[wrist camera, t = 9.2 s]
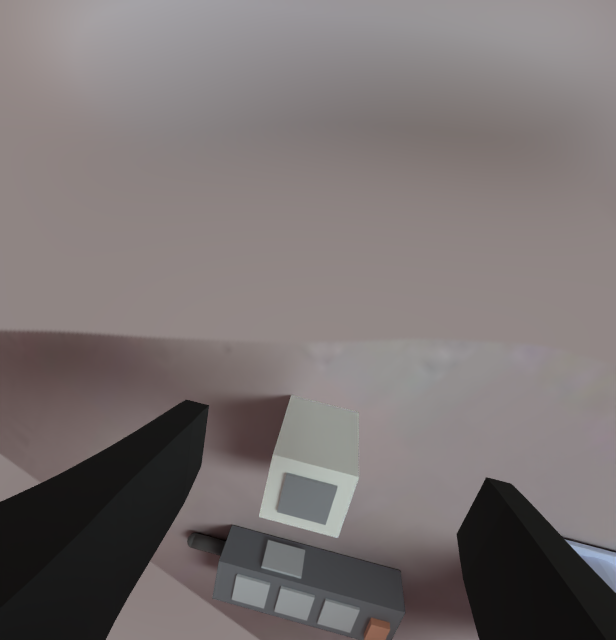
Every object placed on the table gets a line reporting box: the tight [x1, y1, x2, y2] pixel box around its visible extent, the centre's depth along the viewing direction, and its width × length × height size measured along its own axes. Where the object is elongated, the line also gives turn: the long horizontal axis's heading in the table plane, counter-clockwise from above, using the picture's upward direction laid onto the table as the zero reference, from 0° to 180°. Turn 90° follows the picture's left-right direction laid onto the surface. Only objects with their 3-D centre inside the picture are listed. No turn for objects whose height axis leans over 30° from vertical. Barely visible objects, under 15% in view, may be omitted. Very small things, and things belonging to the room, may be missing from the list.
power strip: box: [187, 525, 405, 640], centre depth 24 cm, size 15×4×3 cm, turn 78°
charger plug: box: [259, 395, 359, 538], centre depth 19 cm, size 4×4×5 cm
